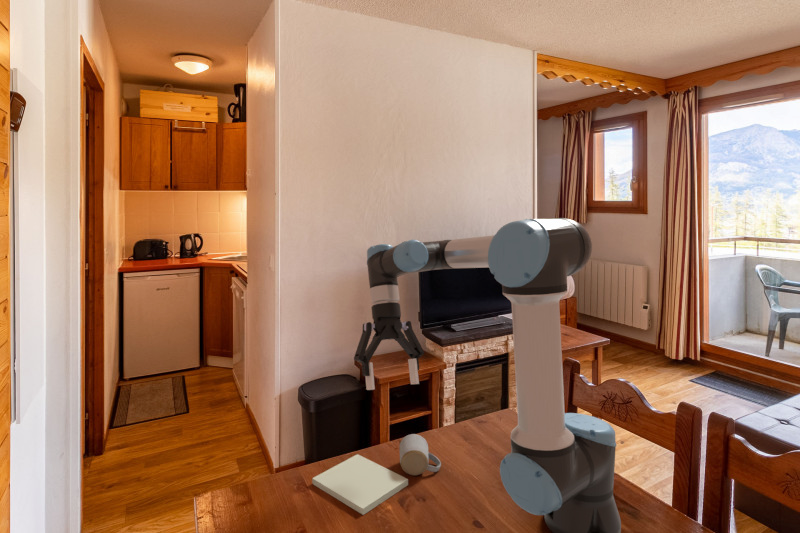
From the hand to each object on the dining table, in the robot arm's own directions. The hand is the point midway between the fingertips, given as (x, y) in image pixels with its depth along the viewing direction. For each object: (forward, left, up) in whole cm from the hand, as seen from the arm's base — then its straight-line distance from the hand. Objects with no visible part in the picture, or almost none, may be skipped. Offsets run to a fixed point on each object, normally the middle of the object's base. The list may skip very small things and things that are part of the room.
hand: (393, 387), depth 121 cm
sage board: (+1, +11, -22) cm, 24 cm away
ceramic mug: (-5, -4, -22) cm, 23 cm away
